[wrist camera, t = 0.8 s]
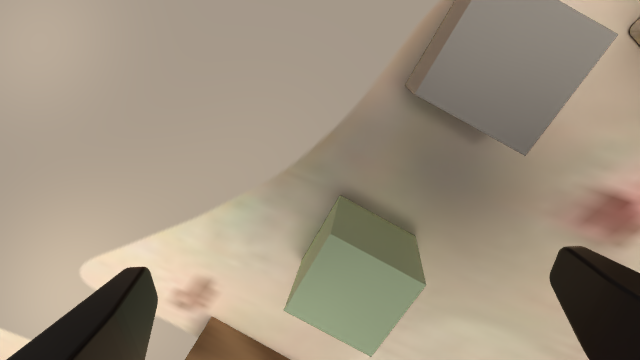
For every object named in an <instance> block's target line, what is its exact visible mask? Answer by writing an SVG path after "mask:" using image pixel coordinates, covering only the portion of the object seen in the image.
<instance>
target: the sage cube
mask: <svg viewBox="0 0 640 360" xmlns="http://www.w3.org/2000/svg"><path fill="white" fill-rule="evenodd" d="M425 286H426V282H425V278H424V273H423V269H422V264H421V260H420V255H419V251H418V246H417V241H416V237H415V236H414V235H412V234H411V233H409V232H407V231H405V230H403V229H401V228H399V227H398V226H396V225H394V224H392V223H390V222H388V221H387V220H385V219H383V218H381V217H379V216H377V215H376V214H374V213H372V212H370V211H368V210H366V209H364V208H363V207H361V206H359V205H357V204H355V203H353V202H352V201H350V200H348V199H346V198H344V197H342V196H341V195H340V196H339V198H338V200H337V201H336V203H335V205H334V206H333V208H332V210H331V212H330V213H329V215H328V217H327V218H326V220H325V222H324V223H323V225H322V227H321V229H320V230H319V232H318V234H317V235H316V237H315V239H314V240H313V242H312V244H311V246H310V247H309V249H308V251H307V252H306V254H305V256H304V257H303V259H302V261H301V264H300V267H299V270H298V273H297V275H296V278H295V281H294V284H293V286H292V289H291V292H290V295H289V298H288V300H287V303H286V306H285V309H284V311H285V312H287V313H289V314H291V315H293V316H295V317H297V318H299V319H301V320H302V321H304V322H306V323H308V324H310V325H312V326H314V327H316V328H318V329H319V330H321V331H323V332H325V333H327V334H329V335H331V336H333V337H335V338H336V339H338V340H340V341H342V342H344V343H346V344H348V345H350V346H352V347H353V348H355V349H357V350H359V351H361V352H363V353H365V354H367V355H368V356H370V357H371V356H372V355H373V354H374V353H375V351H376V350H377V349H378V347H379V346H380V345H381V343H382V342H383V341H384V340H385V338H386V337H387V336H388V334H389V333H390V332H391V330H392V329H393V328H394V327H395V325H396V324H397V323H398V321H399V320H400V319H401V317H402V316H403V315H404V313H405V312H406V311H407V310H408V308H409V307H410V306H411V304H412V303H413V302H414V300H415V299H416V298H417V297H418V295H419V294H420V293H421V291H422V290H423V289H424V287H425Z"/></svg>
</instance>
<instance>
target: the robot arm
mask: <svg viewBox="0 0 640 360" xmlns="http://www.w3.org/2000/svg"><path fill="white" fill-rule="evenodd" d="M550 283H551V286H552V288H553V290H554V292H555V294H556V296H557V298H558V300H559V302H560V304H561V306H562V308H563V310H564V312H565V314H566V316H567V318H568V320H569V322H570V324H571V326H572V328H573V331H574V333H575V335H576V337H577V339H578V340H579V342H580V344H581V346H582V348H583V350H584V352H585V353H586V355H587V357H588V358H589V360H640V273H638V272H636V271H634V270H632V269H630V268H627V267H625V266H623V265H621V264H619V263H617V262H615V261H613V260H611V259H609V258H607V257H604V256H602V255H600V254H598V253H596V252H594V251H592V250H590V249H588V248H585V247H582V246H569V247H563V248H562V249H560V250H559V252H558V255H557V257H556V260H555V262H554V265H553V267H552V270H551V272H550ZM157 303H158V297H157V292H156V289H155V286H154V282H153V279H152V276H151V273H150V271H149V269H148V268H146V267H130V268H126V269H124V270H123V271H122V272H120V273H119V274H118V275H116V276H115V277H114V278H112V279H111V280H110V281H108V282H107V283H106V284H105V285H103V286H102V287H101V288H99V289H98V290H97V291H95V292H94V293H93V294H92V295H90V296H89V297H88V298H87V299H85V300H84V301H82V302H81V303H80V304H78V305H77V306H76V307H75V308H73V309H72V310H71V311H70V312H68V313H67V314H65V315H64V316H63V317H62V318H60V319H59V320H58V321H56V322H55V323H54V324H52V325H51V326H50V327H49V328H47V329H46V330H45V331H43V332H42V333H41V334H39V335H38V336H37V337H35V338H34V339H33V340H32V341H30V342H29V343H28V344H26V345H25V346H24V347H22V348H21V349H20V350H19V351H17V352H16V353H15V354H13V355H12V356H11V357H9V358H8V359H7V360H145V356H146V352H147V347H148V343H149V339H150V334H151V330H152V326H153V321H154V317H155V313H156V308H157Z"/></svg>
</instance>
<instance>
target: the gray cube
mask: <svg viewBox="0 0 640 360" xmlns="http://www.w3.org/2000/svg"><path fill="white" fill-rule="evenodd" d="M617 36H618V34H617V33H615V32H613V31H611V30H610V29H608V28H606V27H604V26H603V25H601V24H599V23H597V22H596V21H594V20H592V19H590V18H589V17H587V16H585V15H583V14H582V13H580V12H578V11H576V10H575V9H573V8H571V7H569V6H568V5H566V4H564V3H562V2H561V1H559V0H455V1H454V3H453V5H452V6H451V8H450V10H449V11H448V13H447V15H446V17H445V18H444V20H443V22H442V23H441V25H440V27H439V28H438V30H437V32H436V33H435V35H434V37H433V39H432V40H431V42H430V44H429V45H428V47H427V49H426V50H425V52H424V54H423V56H422V57H421V59H420V61H419V62H418V64H417V66H416V67H415V69H414V71H413V72H412V74H411V76H410V78H409V79H408V81H407V83H406V84H405V86H406V87H407V88H408V89H409V90H410V91H411V92H412V93H413V94H415V95H416V96H418V97H420V98H422V99H424V100H425V101H427V102H429V103H431V104H433V105H434V106H436V107H438V108H440V109H442V110H443V111H445V112H447V113H449V114H451V115H452V116H454V117H456V118H458V119H460V120H461V121H463V122H465V123H467V124H469V125H470V126H472V127H474V128H476V129H478V130H479V131H481V132H483V133H485V134H487V135H488V136H490V137H492V138H494V139H496V140H497V141H499V142H501V143H503V144H505V145H506V146H508V147H510V148H512V149H514V150H515V151H517V152H519V153H521V154H523V155H524V156H526V154H527V153H528V152H529V150H530V149H531V148H532V147H533V145H534V144H535V143H536V141H537V140H538V139H539V137H540V136H541V135H542V134H543V132H544V131H545V130H546V128H547V127H548V126H549V124H550V123H551V122H552V120H553V119H554V118H555V117H556V115H557V114H558V113H559V111H560V110H561V109H562V107H563V106H564V105H565V103H566V102H567V101H568V100H569V98H570V97H571V96H572V94H573V93H574V92H575V90H576V89H577V88H578V87H579V85H580V84H581V83H582V81H583V80H584V79H585V77H586V76H587V75H588V73H589V72H590V71H591V70H592V68H593V67H594V66H595V64H596V63H597V62H598V60H599V59H600V58H601V57H602V55H603V54H604V53H605V51H606V50H607V49H608V47H609V46H610V45H611V43H612V42H613V41H614V40H615V38H616V37H617Z"/></svg>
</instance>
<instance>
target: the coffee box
mask: <svg viewBox="0 0 640 360" xmlns="http://www.w3.org/2000/svg"><path fill="white" fill-rule="evenodd" d="M630 34H631V36H632V37H633V38H634V39H635V40H636V41H637V43H638V44H639V45H640V19H639V20H638V21H636V22H635V23H634V24H633V25H632V27H631V29H630Z"/></svg>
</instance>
